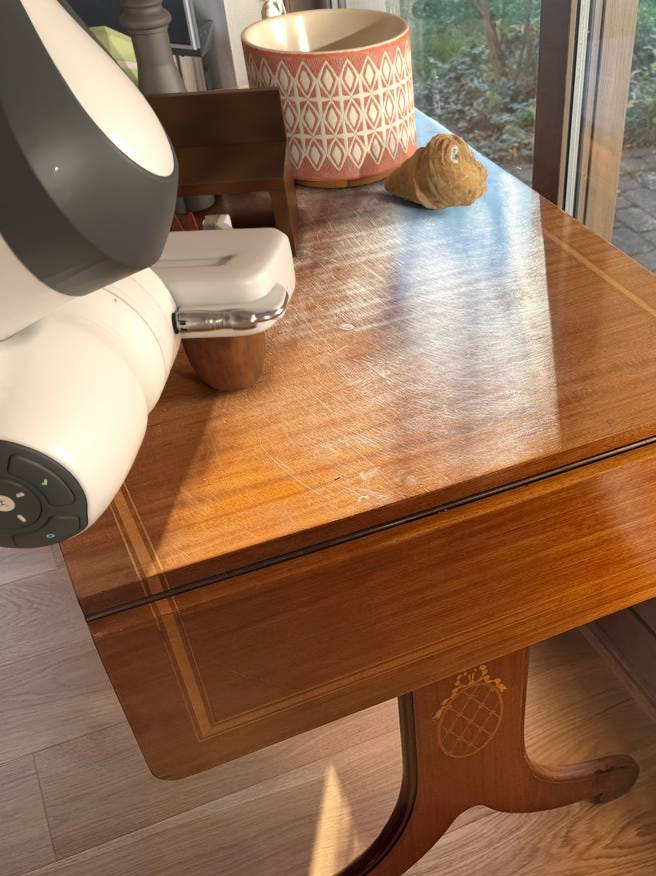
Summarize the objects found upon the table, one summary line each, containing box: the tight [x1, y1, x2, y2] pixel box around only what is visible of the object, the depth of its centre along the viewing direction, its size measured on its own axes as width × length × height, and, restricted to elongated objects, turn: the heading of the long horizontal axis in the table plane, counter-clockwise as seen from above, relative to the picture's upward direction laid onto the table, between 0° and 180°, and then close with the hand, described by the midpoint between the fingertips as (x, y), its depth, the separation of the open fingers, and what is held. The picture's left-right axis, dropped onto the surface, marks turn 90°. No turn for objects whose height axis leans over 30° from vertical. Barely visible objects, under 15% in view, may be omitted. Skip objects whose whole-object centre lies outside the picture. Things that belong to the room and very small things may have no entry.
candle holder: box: [118, 0, 216, 214], centre depth 106 cm, size 6×6×25 cm
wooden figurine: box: [171, 212, 267, 392], centre depth 80 cm, size 7×6×15 cm
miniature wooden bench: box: [143, 86, 300, 257], centre depth 103 cm, size 16×12×13 cm
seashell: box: [383, 132, 489, 211], centre depth 110 cm, size 14×8×8 cm
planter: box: [240, 7, 418, 189], centre depth 117 cm, size 19×19×15 cm
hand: (148, 229), depth 64 cm, fingers open, 8 cm apart
